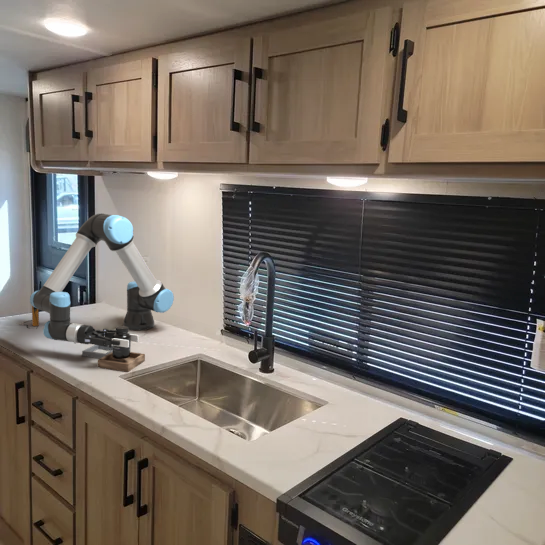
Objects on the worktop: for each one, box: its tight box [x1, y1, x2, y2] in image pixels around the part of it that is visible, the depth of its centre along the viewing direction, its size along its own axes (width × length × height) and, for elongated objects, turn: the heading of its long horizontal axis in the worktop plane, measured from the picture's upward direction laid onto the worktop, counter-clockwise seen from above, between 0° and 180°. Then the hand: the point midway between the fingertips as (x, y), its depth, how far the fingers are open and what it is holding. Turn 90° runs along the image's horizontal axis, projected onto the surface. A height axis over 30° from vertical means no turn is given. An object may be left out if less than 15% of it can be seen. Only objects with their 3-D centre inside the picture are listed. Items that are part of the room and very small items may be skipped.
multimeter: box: [16, 283, 40, 329], centre depth 237 cm, size 15×10×20 cm
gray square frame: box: [81, 344, 113, 359], centre depth 205 cm, size 11×11×2 cm
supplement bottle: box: [112, 325, 132, 359], centre depth 193 cm, size 7×7×12 cm
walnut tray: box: [97, 351, 146, 373], centre depth 194 cm, size 13×13×3 cm
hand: (133, 341), depth 192 cm, fingers closed on supplement bottle, 7 cm apart
